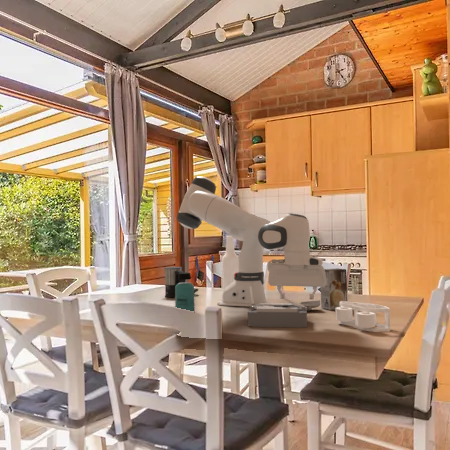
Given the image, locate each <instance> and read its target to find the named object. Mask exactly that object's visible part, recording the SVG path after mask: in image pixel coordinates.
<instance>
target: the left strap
mask: <svg viewBox="0 0 450 450" xmlns="http://www.w3.org/2000/svg"><path fill="white" fill-rule="evenodd" d="M252 306H254V309H257V307H274V306H259V305H252Z"/></svg>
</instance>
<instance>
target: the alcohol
mask: <svg viewBox="0 0 450 450" xmlns="http://www.w3.org/2000/svg"><path fill="white" fill-rule="evenodd" d="M225 237H226V242H225V254H224V255H222V259H221V265H222V266H221V267H222V271H221V272H222V292H223V291H224V289H225V288H226V287H228V286H229V285H230V284H231V283H232V282H234V281H235V280H234V274H235V273H236V272H239V267H238V255H237V254H236V252H235V241H234V239H235V238H233V237H232V236H231V235H226V236H225Z"/></svg>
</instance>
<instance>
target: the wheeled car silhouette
mask: <svg viewBox="0 0 450 450" xmlns="http://www.w3.org/2000/svg"><path fill="white" fill-rule="evenodd" d="M339 303H340V306H341V307H337V308H336V309H335V321H337V322H339V324H342V325H343V326H350V327H352V328H355V329H358V330H360V331H366V332H371V333H381V332H384V333H386V332H391V308H390V307H388V306H385V305H381V304H377V303H370V302H368V303H367V302H353V301H348V300H347V301H340V302H339ZM378 313H384V324H383V323H379V322H377V314H378ZM353 316H354V318H353Z"/></svg>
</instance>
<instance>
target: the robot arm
mask: <svg viewBox="0 0 450 450" xmlns="http://www.w3.org/2000/svg"><path fill="white" fill-rule="evenodd" d="M216 189H217V185H216V184H215V182H213V180H212V179H210V178H208V177H206V176H200V175H199V176H196V177H194V178H193V180H192V181H191V184H190V185H189V187H188V189H187V191H186V193H185V194H184V196H183V200H182V202H181V204H180V207H179V211H177V214H176V220H177V222H178V223H179V224H180V225H181V226H182V227H183V228H186V229H190V230H191V229H193V230H196V229H197V228H199V227H200V226H201V224H202V221H203V222H204V223H207V224H209V225H211V226H213V227H215V228H218V229H219V230H222V231H224V232H225V233H227V234H228V236H232V237H233V238H234V239H235V240H237V241H240V242H242V246H241V249H240V252H239V253H238V255H237V256H238V267H239V272H236V273H235V274H234V280H235V281H234V282H232V283H231V284H230V285H229V286H228V287H226V288H225V289H224V291H223V290H222V294H221V296H222V297H221V299H219V300H218V301H217V303H216V305H218V306H229V307H230V306H232V307H250V306H252V304H255V305H259V304H260V303H268V300H267V297H266V293H265V292H266V291H265V272H264V261H263V259H264V257H263V256H264V251H265V249H266V250H269V251H273V250H283V252H284V254H283V255H284V256H283V257H284V259H283V258H282V259H280V258H279V259H271V260H269V261H268V262H267V271H268V279H267V281H268V282H267V284H268V285H269V286H270V287H273V286H274V287H276V289H277V291H278V293H279V295H280V296H279V298H280V299H281V300H283V299H284V298H285V297H286V293H285V292H284V293H283V291H282V287H311V288H312V293H309V300H310V301H315V300H314V299H315V296H314V295H315V293H316V292H317V291H318V288H319V287H320V288H321V287H324V286H325V285H326V274H325V270H324V269H325V267H324V266H323V259H322V258H320V257H317V256H316V255H311V253H310V252H311V251H310V247H309V246H310V245H309V244H310V239H311V236H310V231H311V230H310V222H309V219H308V217H306V216H305V215H303V214H298V213H290V212H289V213H287V214H285V215H284V216H283V217H281V218H279V219H277V220H275V221H269V220H267V219H266V218H264V217H260V216H257V215H255V214H252V213H250V212H248V211H246V210H244V209H243V208H242V207H239V206H238V205H236V204H234V203H233V202H231V201H229V200H228V199H226V198H224V197H222V196H219V195H218V194H216Z"/></svg>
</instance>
